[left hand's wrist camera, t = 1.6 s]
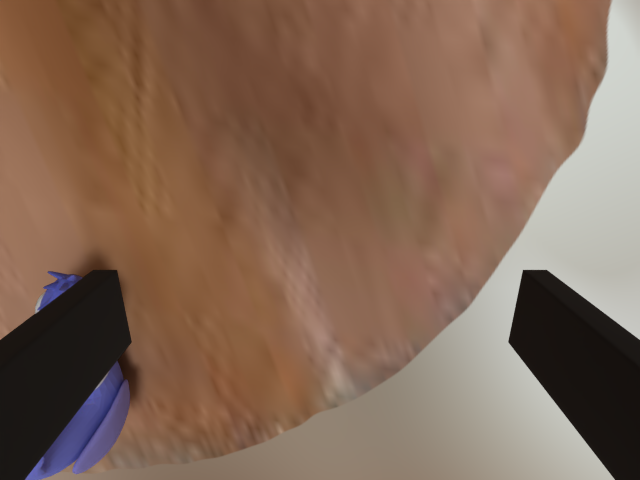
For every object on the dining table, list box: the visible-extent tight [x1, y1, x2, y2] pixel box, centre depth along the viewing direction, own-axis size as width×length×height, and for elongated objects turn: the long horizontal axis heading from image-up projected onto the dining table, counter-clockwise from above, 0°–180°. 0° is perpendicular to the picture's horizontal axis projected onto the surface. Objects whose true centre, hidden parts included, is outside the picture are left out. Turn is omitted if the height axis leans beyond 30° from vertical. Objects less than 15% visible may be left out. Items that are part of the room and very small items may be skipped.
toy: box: [25, 271, 130, 480], centre depth 39 cm, size 10×17×25 cm
